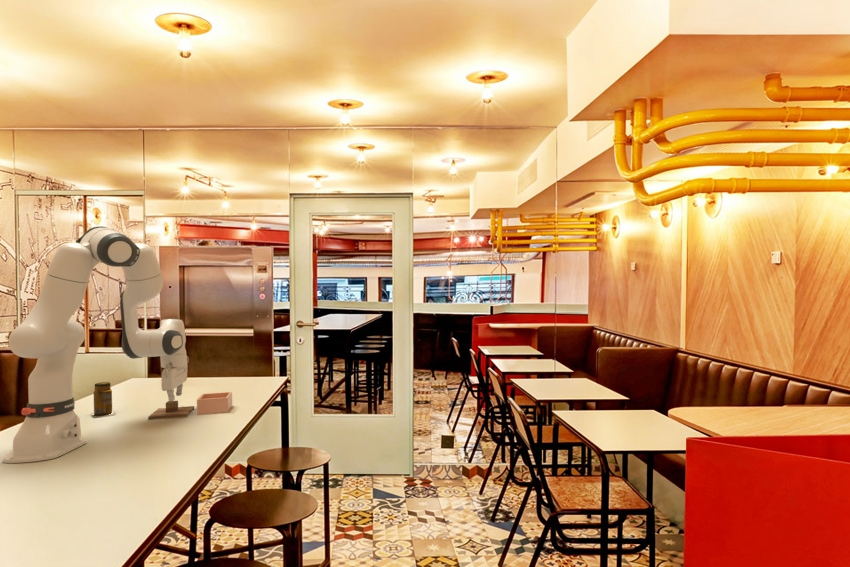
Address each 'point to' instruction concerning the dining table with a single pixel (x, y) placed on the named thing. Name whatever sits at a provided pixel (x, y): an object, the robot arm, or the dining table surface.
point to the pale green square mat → (175, 418)
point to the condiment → (102, 400)
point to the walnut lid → (171, 411)
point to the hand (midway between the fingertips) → (175, 398)
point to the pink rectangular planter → (214, 403)
